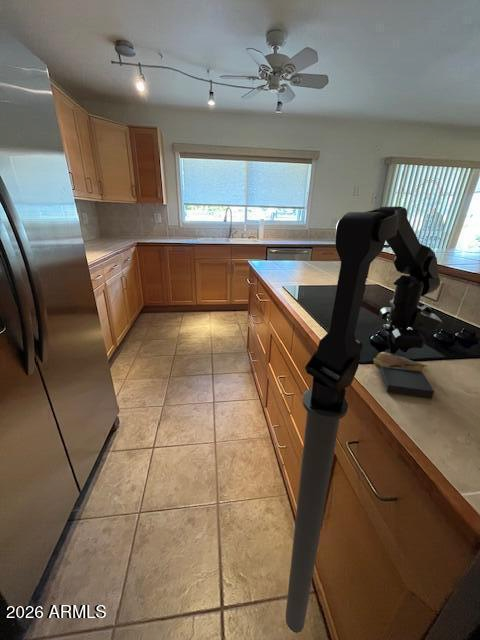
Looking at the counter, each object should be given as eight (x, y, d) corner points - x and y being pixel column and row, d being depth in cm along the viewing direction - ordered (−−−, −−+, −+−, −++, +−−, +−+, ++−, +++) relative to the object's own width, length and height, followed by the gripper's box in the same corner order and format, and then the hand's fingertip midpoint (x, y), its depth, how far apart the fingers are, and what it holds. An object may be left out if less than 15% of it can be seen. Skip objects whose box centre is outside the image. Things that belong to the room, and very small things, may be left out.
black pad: (386, 392, 60) (388, 384, 59) (379, 372, 67) (381, 365, 66) (431, 398, 57) (434, 391, 57) (419, 377, 64) (421, 370, 64)
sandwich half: (425, 370, 67) (427, 364, 66) (417, 383, 62) (419, 377, 62) (381, 355, 74) (382, 349, 74) (370, 365, 70) (371, 360, 69)
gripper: (460, 317, 56) (439, 377, 62) (428, 290, 72) (414, 339, 79) (402, 313, 59) (388, 371, 65) (384, 288, 75) (374, 336, 81)
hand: (392, 353), depth 72 cm, fingers closed
